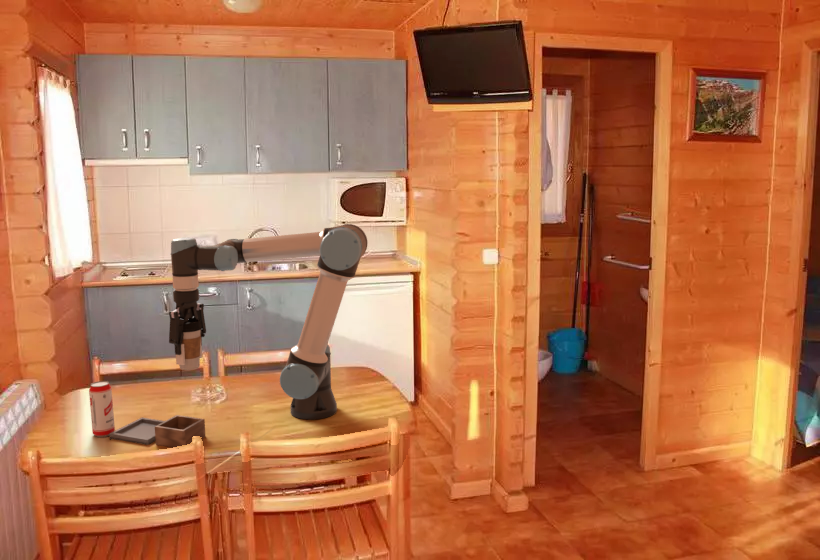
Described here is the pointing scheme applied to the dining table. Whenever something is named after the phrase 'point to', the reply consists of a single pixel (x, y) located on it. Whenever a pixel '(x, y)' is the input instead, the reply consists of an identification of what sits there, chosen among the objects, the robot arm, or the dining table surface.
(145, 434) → the slate tray
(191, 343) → the coffee cup
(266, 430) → the dining table surface
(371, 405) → the dining table surface
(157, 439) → the walnut crate
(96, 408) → the beer can
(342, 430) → the dining table surface
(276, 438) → the dining table surface
